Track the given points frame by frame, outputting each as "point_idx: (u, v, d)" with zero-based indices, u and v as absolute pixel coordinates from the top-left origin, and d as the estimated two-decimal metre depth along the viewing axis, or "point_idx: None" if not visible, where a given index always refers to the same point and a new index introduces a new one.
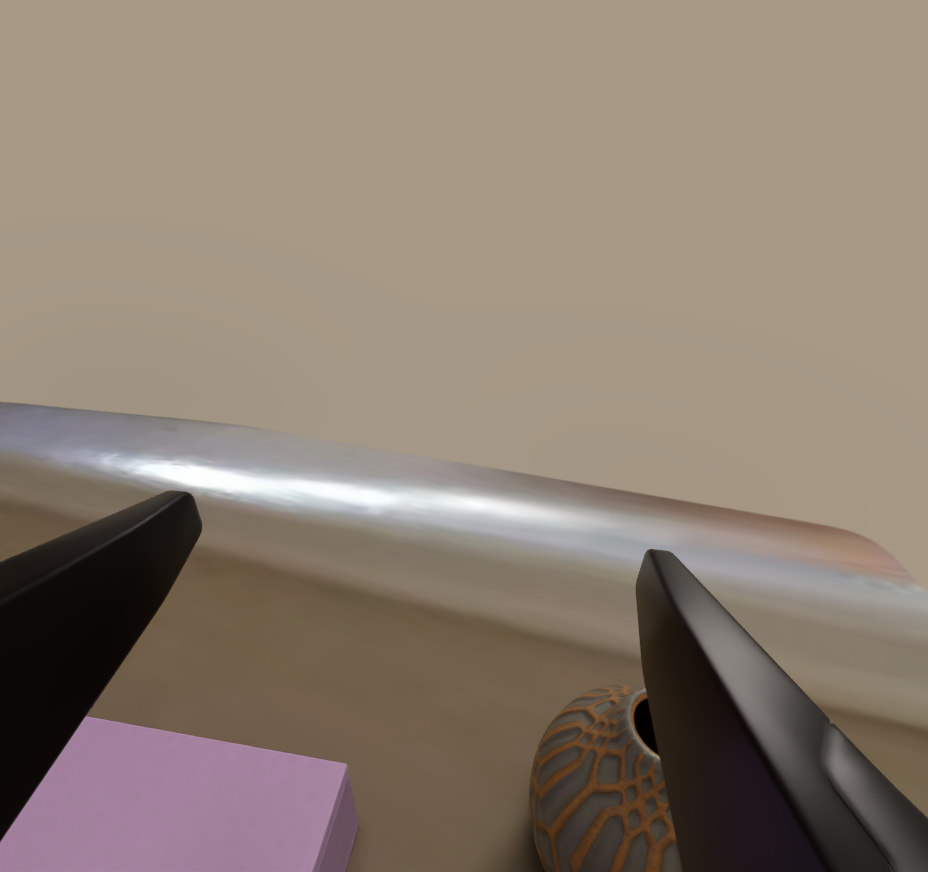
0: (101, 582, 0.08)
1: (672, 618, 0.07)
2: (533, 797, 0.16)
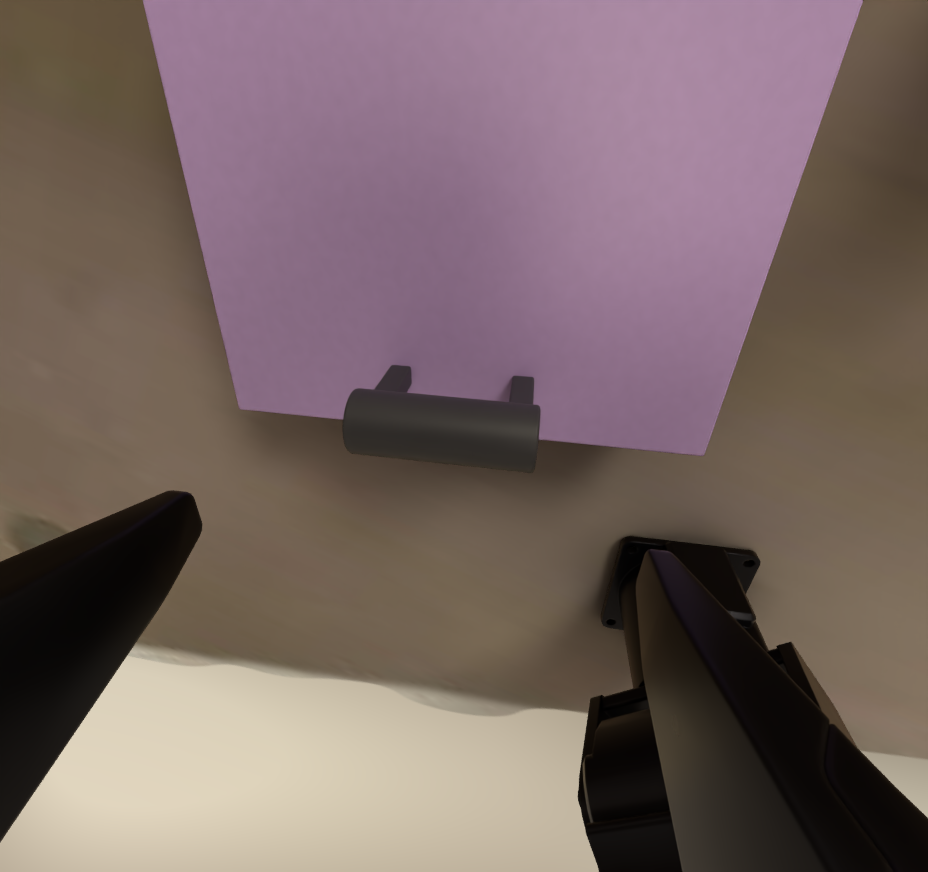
0: (101, 582, 0.08)
1: (672, 618, 0.07)
2: None
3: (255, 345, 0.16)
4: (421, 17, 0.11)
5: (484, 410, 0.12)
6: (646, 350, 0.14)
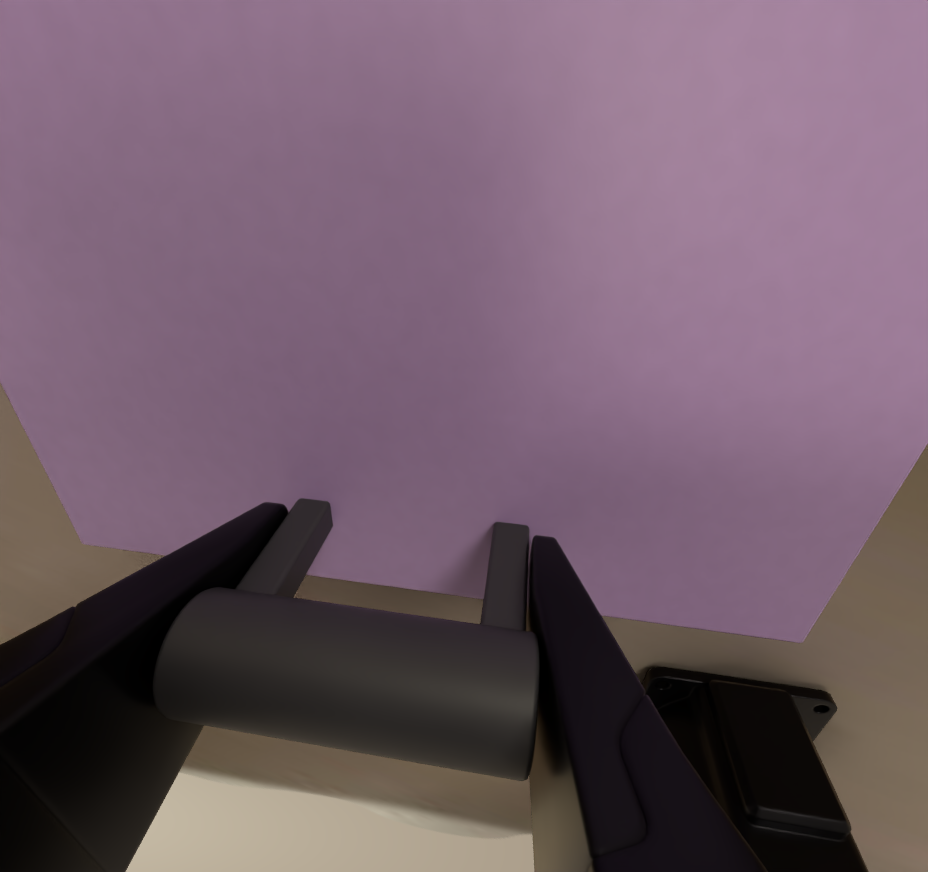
0: None
1: (534, 599, 0.07)
2: None
3: (85, 462, 0.10)
4: None
5: (428, 668, 0.06)
6: (722, 496, 0.08)
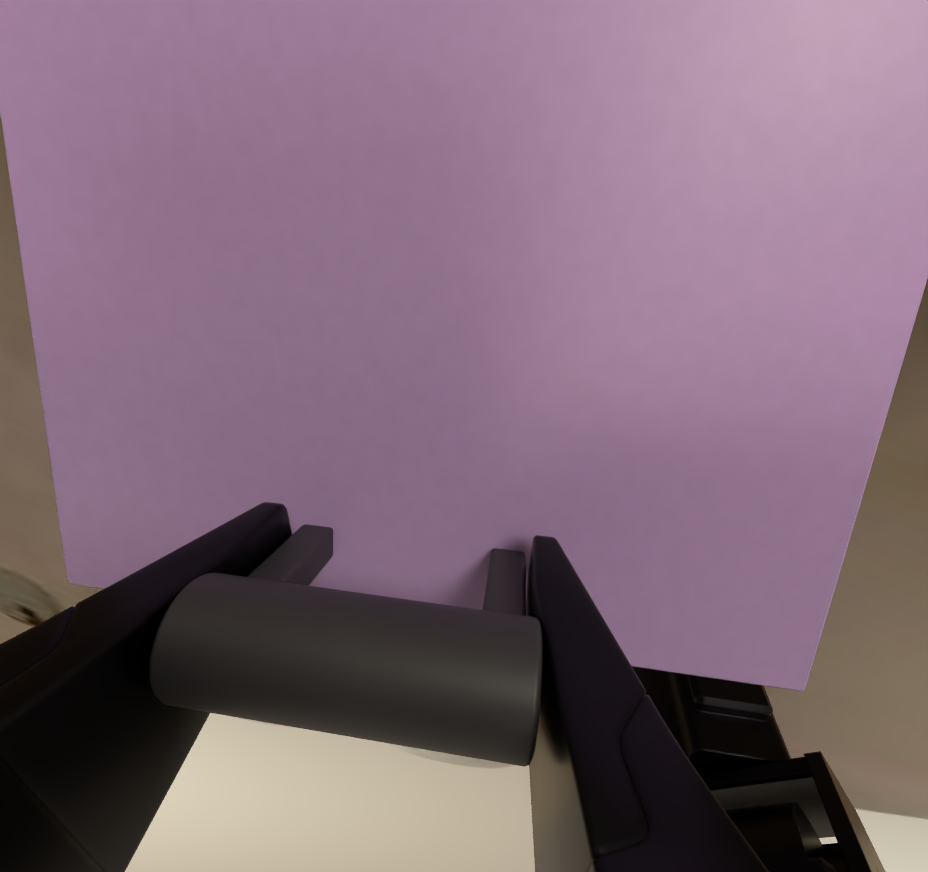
0: None
1: (535, 599, 0.07)
2: None
3: (99, 487, 0.11)
4: (365, 40, 0.08)
5: (433, 631, 0.06)
6: (703, 517, 0.09)
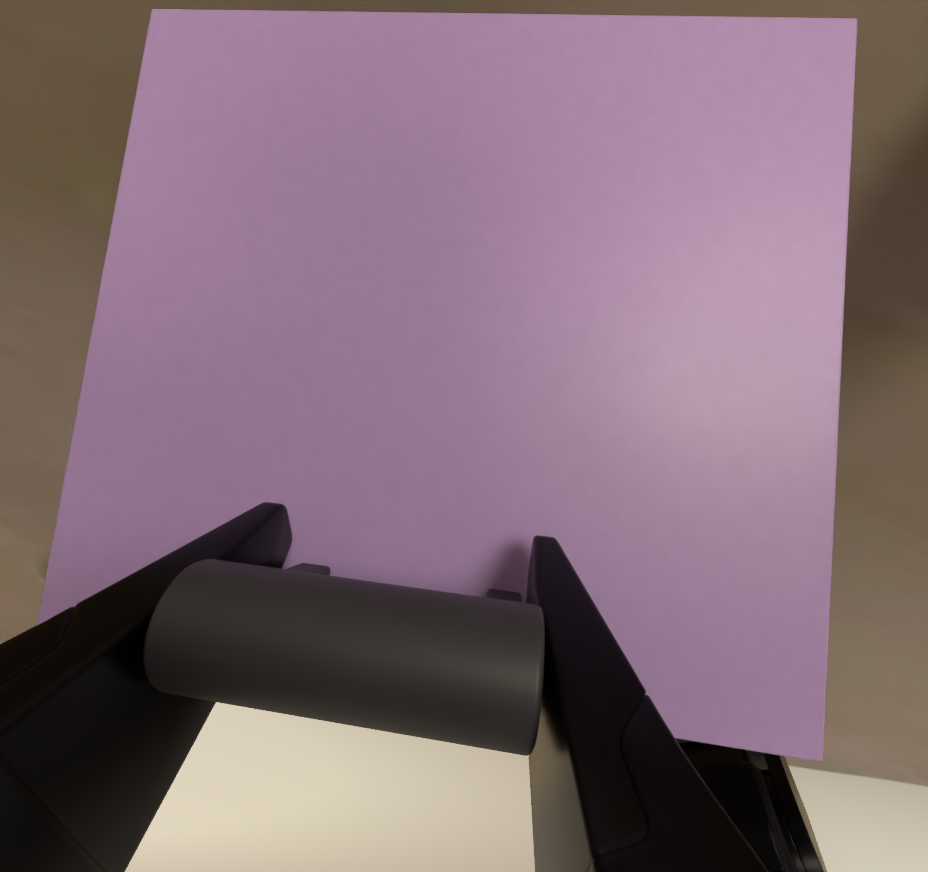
0: None
1: (535, 599, 0.07)
2: None
3: (102, 524, 0.11)
4: (403, 178, 0.11)
5: (437, 601, 0.06)
6: (690, 555, 0.09)
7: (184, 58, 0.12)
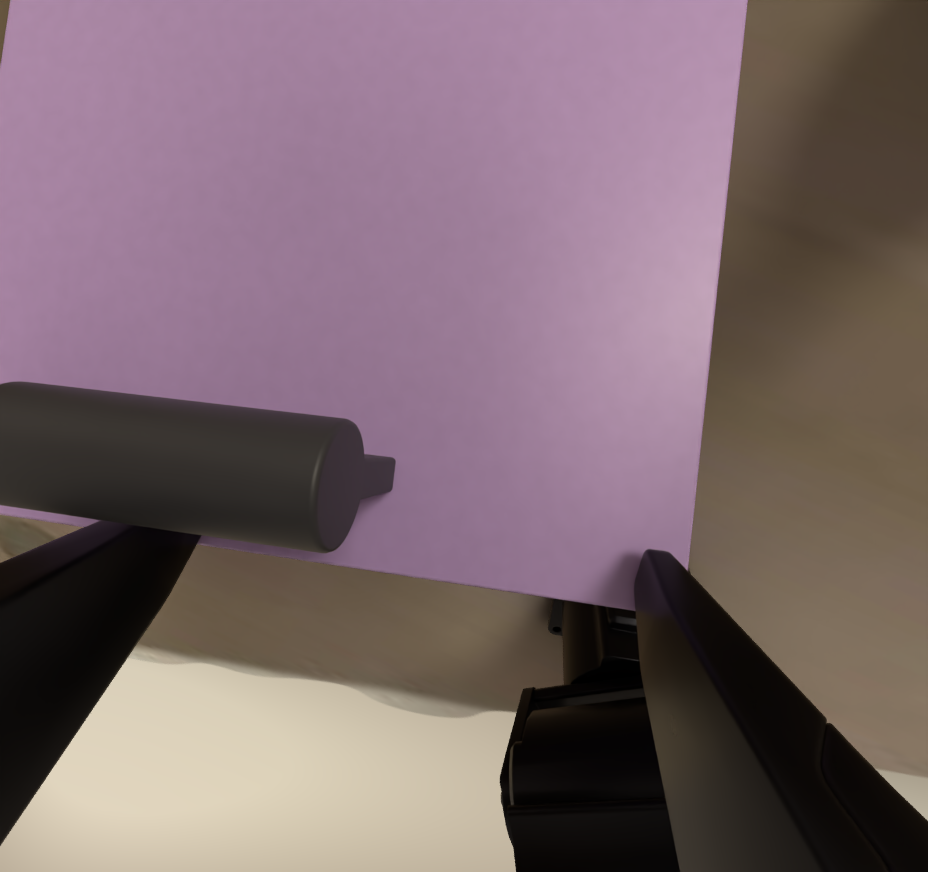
0: (103, 582, 0.08)
1: (670, 618, 0.07)
2: None
3: None
4: (286, 38, 0.10)
5: (242, 410, 0.06)
6: (562, 419, 0.09)
7: None
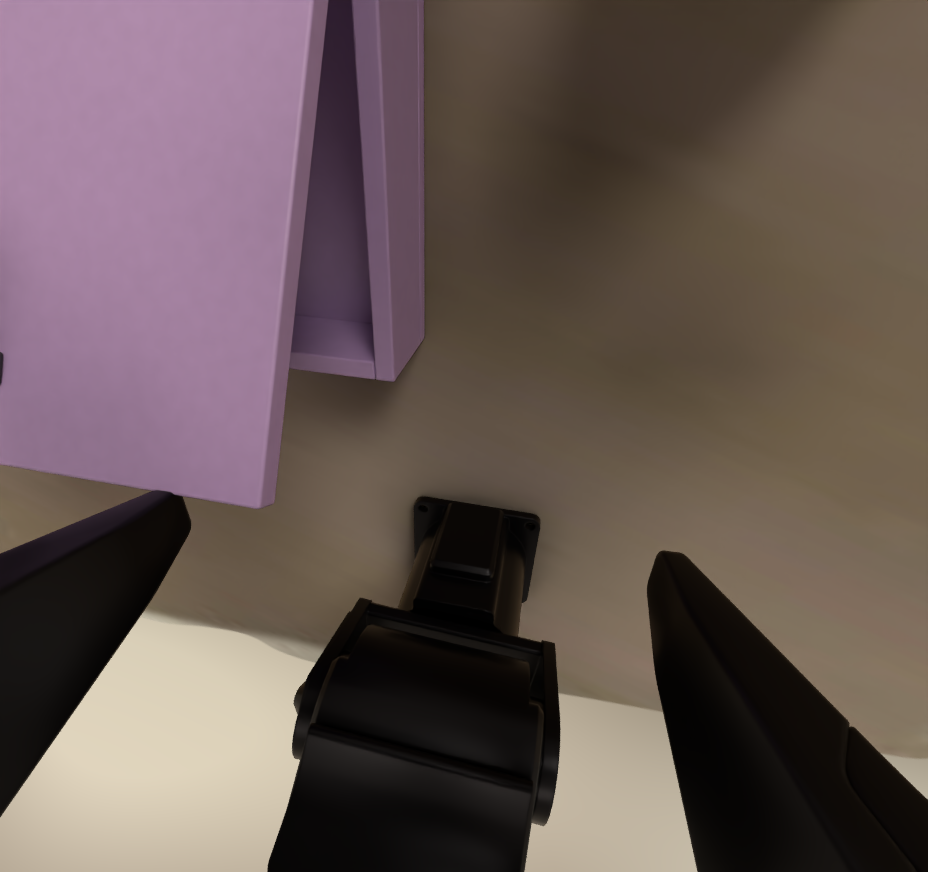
0: (87, 580, 0.08)
1: (686, 620, 0.07)
2: None
3: None
4: None
5: None
6: (151, 311, 0.09)
7: None
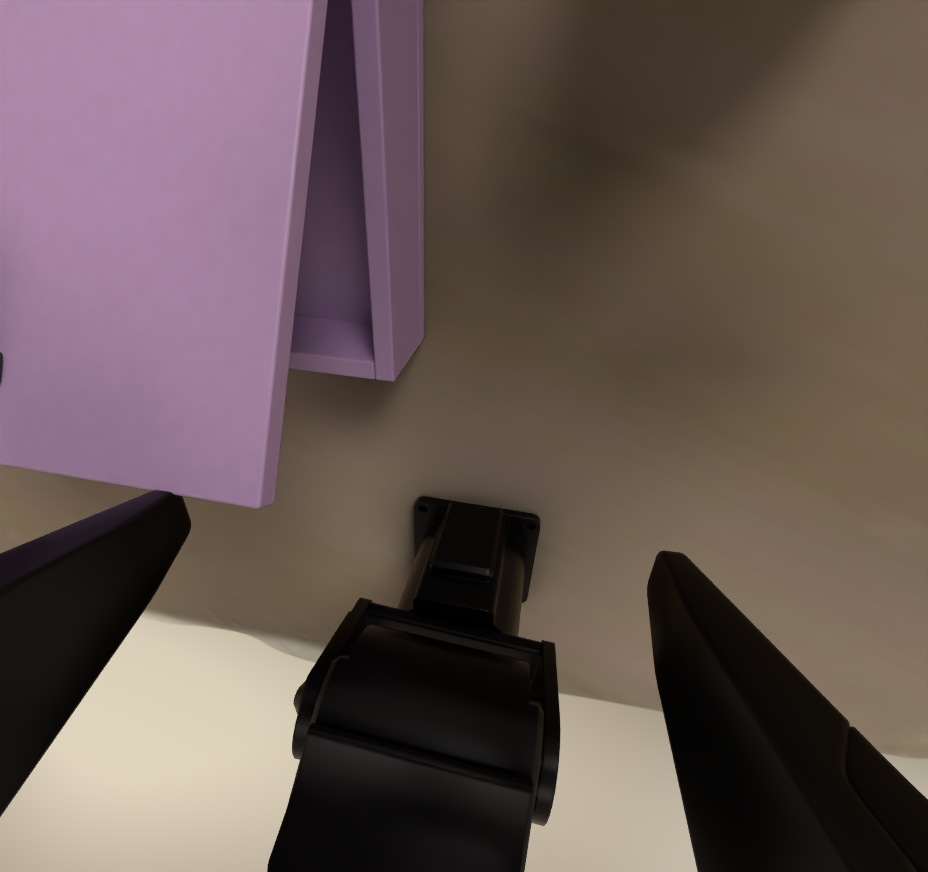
0: (87, 580, 0.08)
1: (686, 620, 0.07)
2: None
3: None
4: None
5: None
6: (150, 311, 0.09)
7: None
